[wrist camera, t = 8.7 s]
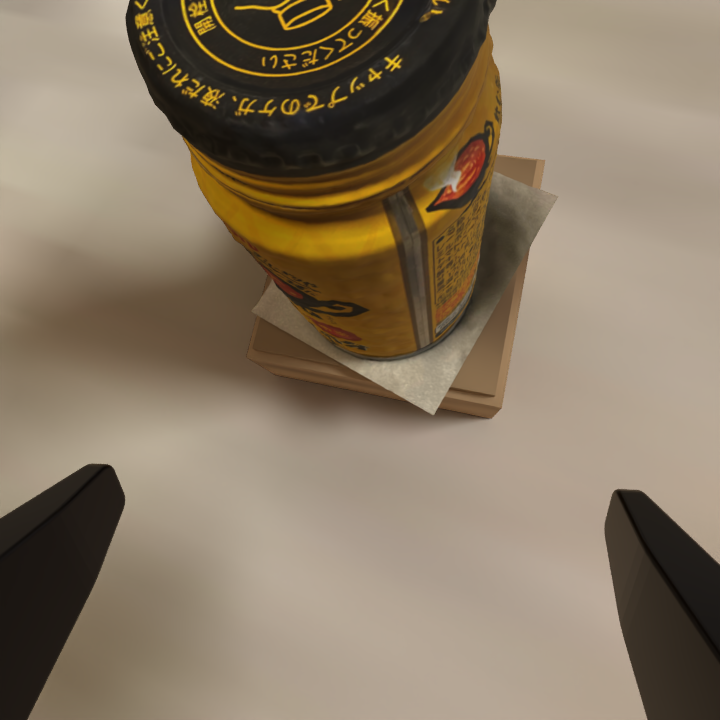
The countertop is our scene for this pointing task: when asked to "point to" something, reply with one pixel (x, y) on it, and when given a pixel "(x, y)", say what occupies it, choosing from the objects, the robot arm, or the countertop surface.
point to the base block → (480, 369)
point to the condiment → (351, 168)
